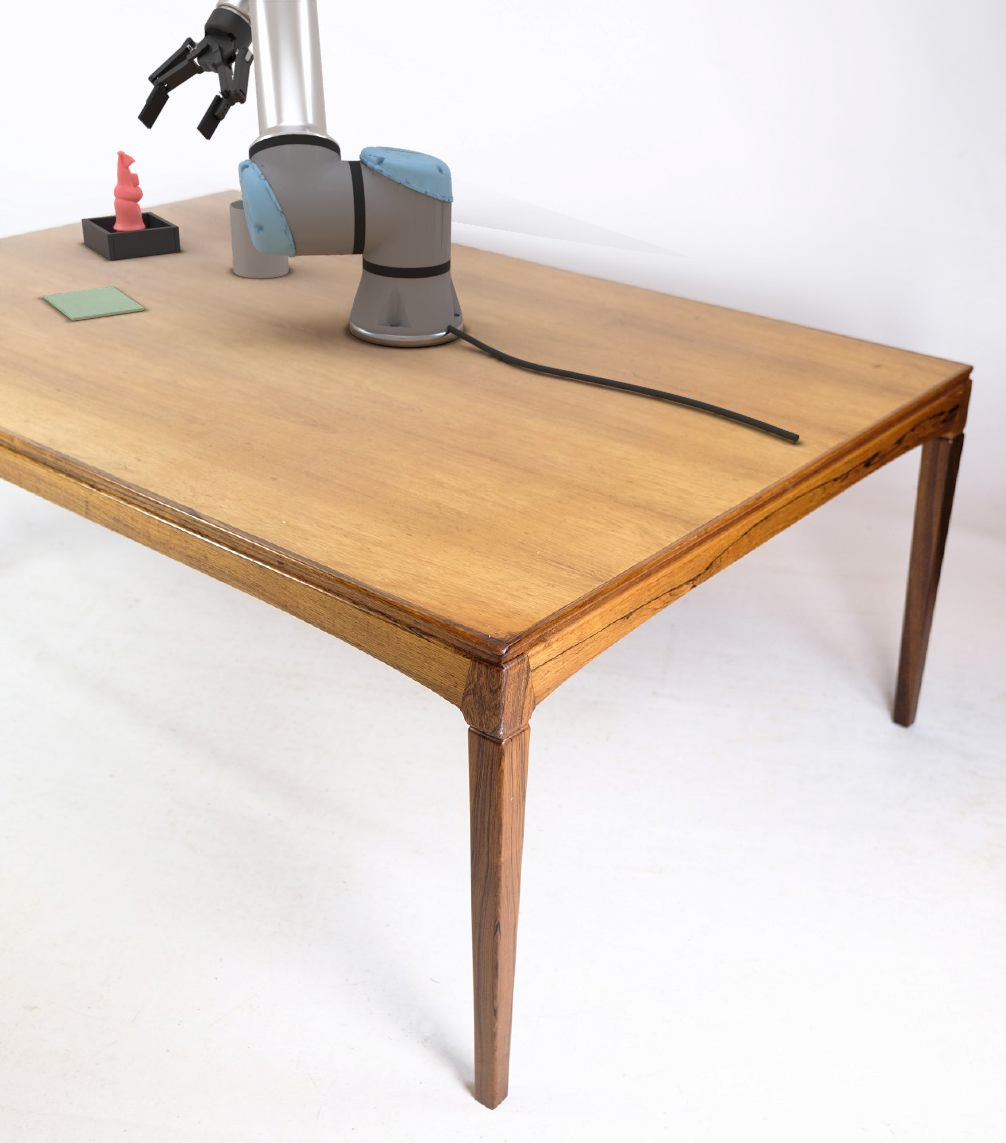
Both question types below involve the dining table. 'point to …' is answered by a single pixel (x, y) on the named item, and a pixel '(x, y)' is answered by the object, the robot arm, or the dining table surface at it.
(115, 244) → the box
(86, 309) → the mat
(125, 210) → the figurine
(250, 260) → the cup
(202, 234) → the dining table surface
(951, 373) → the dining table surface
